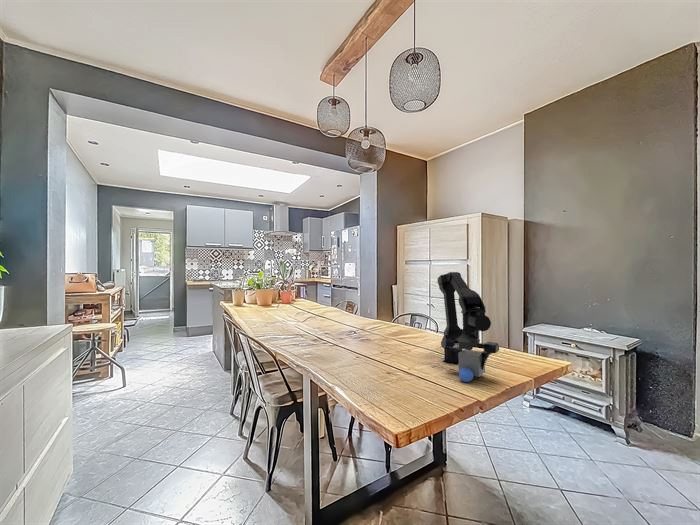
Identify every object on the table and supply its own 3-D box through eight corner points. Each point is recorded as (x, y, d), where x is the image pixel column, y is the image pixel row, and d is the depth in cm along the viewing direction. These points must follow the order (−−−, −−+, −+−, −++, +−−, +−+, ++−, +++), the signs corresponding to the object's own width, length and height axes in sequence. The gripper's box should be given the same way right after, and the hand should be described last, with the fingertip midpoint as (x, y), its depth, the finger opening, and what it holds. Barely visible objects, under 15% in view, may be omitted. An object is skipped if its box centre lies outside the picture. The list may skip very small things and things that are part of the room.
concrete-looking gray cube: (458, 372, 115) (458, 352, 116) (465, 368, 121) (464, 348, 121) (479, 376, 111) (478, 355, 111) (485, 371, 116) (484, 351, 117)
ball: (460, 380, 114) (456, 379, 110) (462, 367, 115) (457, 365, 112) (474, 383, 111) (470, 382, 107) (475, 369, 112) (471, 368, 108)
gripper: (439, 326, 116) (440, 368, 115) (491, 332, 104) (492, 378, 104) (449, 323, 125) (450, 361, 124) (499, 327, 113) (500, 369, 112)
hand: (471, 367), depth 116 cm, fingers closed on concrete-looking gray cube, 7 cm apart
